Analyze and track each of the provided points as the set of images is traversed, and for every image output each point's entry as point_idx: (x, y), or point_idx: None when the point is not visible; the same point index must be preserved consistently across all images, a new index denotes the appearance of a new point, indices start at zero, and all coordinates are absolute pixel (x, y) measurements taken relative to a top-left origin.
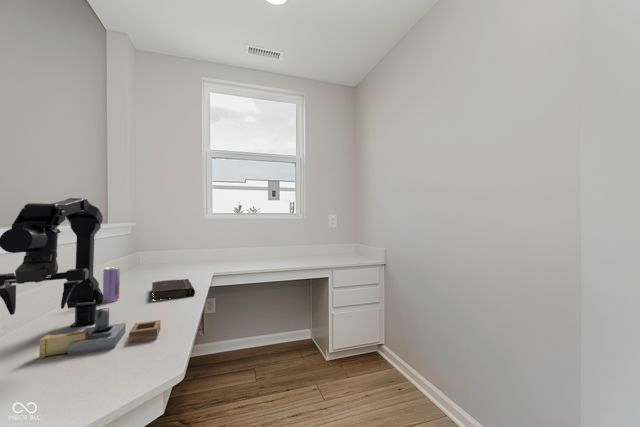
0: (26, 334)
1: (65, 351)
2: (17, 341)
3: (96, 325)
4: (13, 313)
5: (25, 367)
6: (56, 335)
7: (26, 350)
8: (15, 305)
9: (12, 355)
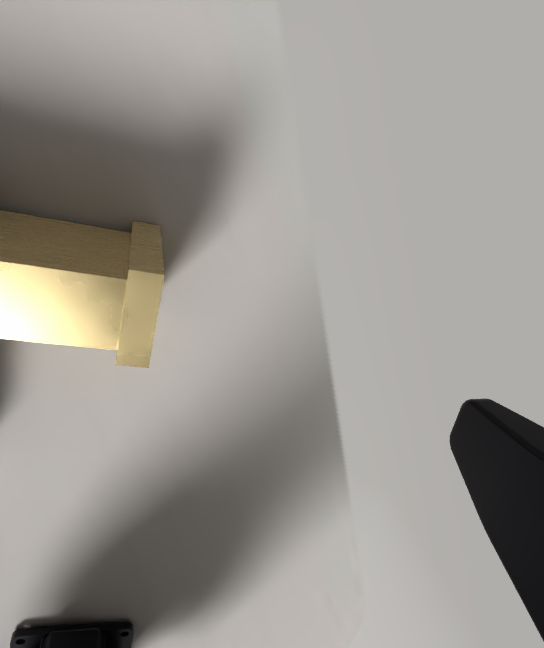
0: (298, 597)
1: (5, 213)
2: (316, 534)
3: None
4: (464, 422)
5: (203, 116)
6: (69, 329)
7: (259, 405)
8: (504, 558)
9: (305, 369)
